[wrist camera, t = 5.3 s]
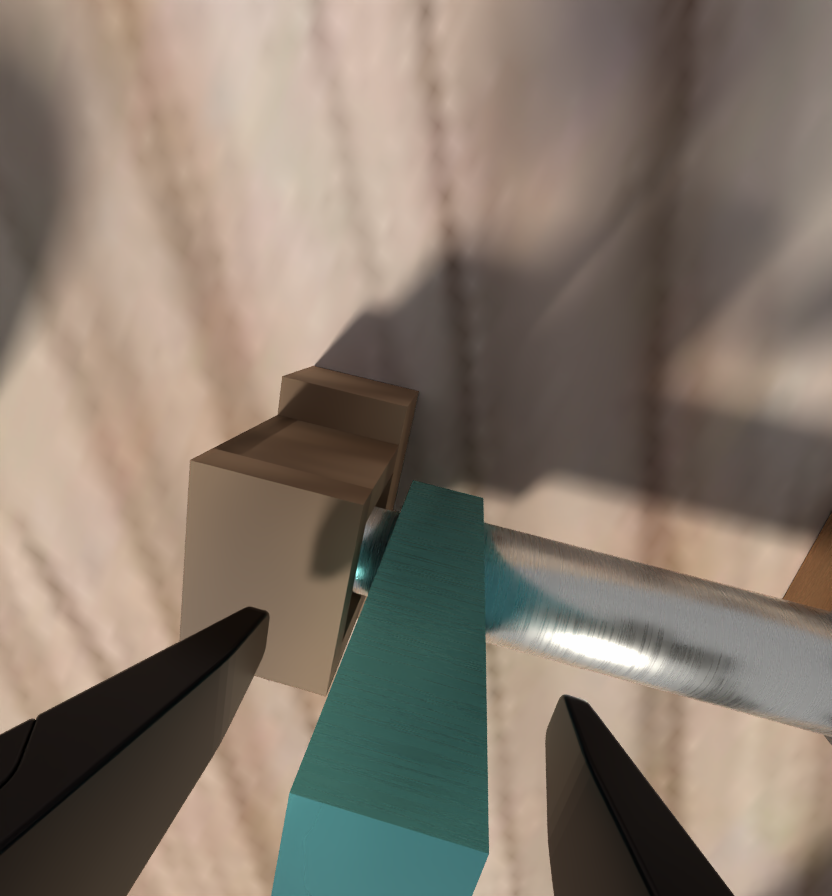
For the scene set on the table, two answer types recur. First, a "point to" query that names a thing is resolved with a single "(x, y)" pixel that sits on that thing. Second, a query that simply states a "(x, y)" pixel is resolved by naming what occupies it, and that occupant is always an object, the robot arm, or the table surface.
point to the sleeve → (815, 576)
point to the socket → (295, 518)
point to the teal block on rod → (464, 683)
